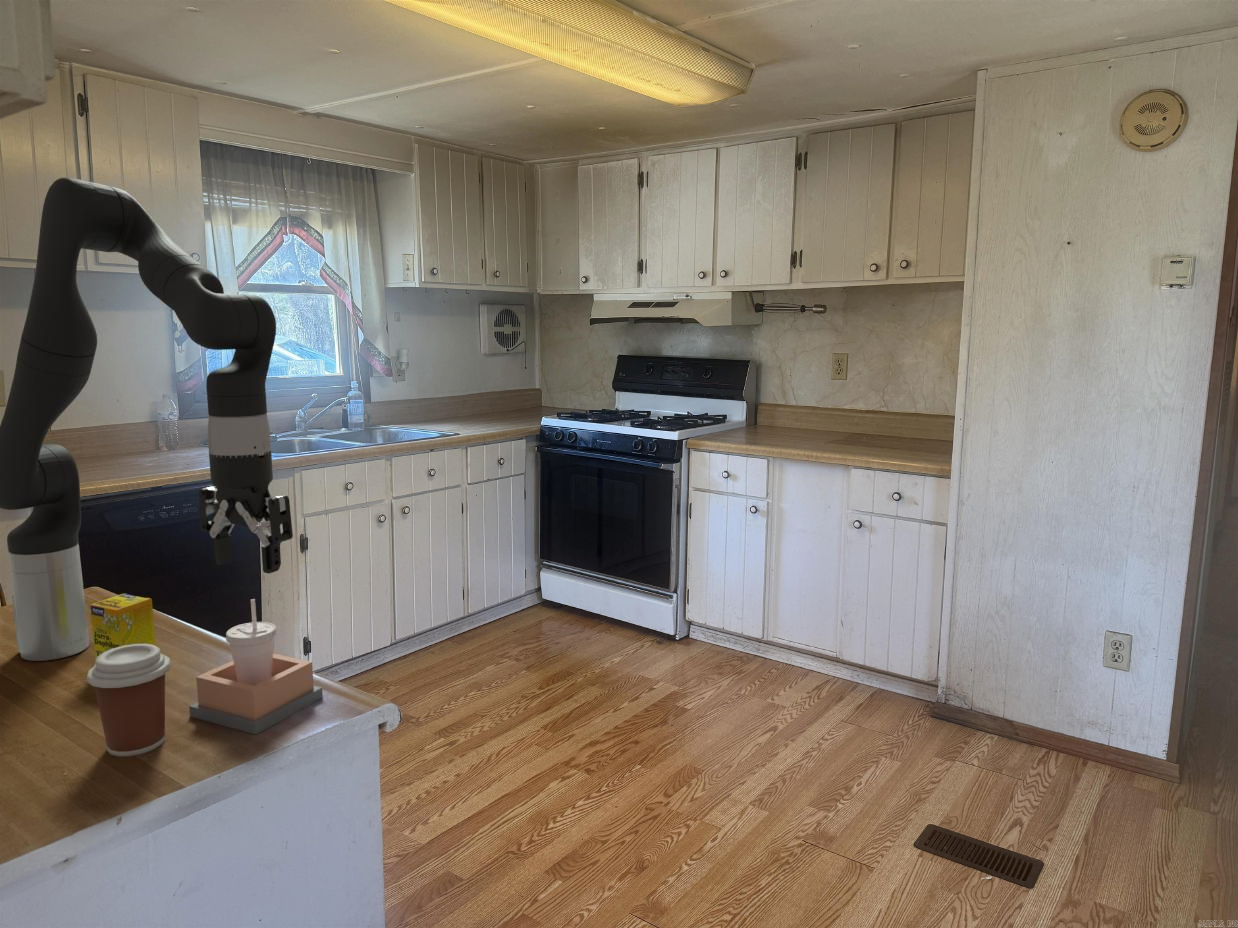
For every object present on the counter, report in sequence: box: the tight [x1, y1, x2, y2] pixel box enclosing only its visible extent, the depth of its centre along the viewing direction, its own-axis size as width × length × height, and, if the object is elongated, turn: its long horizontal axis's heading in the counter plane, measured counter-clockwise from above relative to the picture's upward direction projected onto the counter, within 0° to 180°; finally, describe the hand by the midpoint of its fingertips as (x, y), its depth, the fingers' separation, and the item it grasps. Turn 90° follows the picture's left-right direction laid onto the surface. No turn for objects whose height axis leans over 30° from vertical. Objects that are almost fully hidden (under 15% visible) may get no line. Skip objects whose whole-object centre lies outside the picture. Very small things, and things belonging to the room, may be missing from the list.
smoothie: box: [225, 598, 278, 686], centre depth 117 cm, size 6×6×14 cm
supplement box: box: [89, 592, 157, 661], centre depth 129 cm, size 6×6×11 cm
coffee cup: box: [86, 644, 171, 757], centre depth 107 cm, size 9×9×12 cm
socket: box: [188, 652, 324, 735], centre depth 117 cm, size 12×12×6 cm
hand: (247, 567), depth 114 cm, fingers open, 8 cm apart
